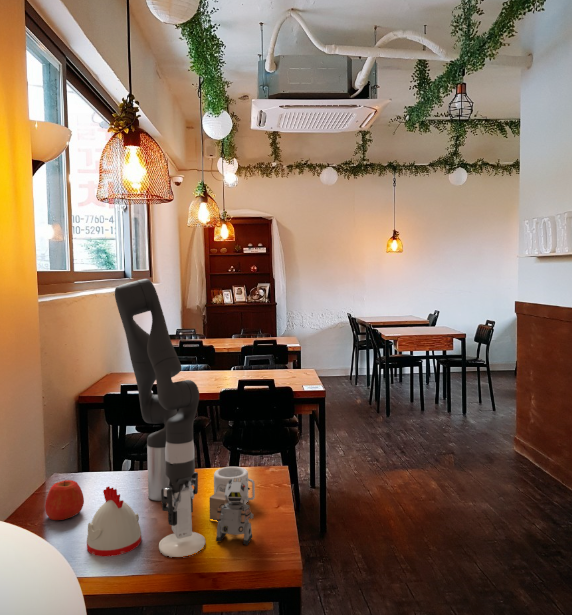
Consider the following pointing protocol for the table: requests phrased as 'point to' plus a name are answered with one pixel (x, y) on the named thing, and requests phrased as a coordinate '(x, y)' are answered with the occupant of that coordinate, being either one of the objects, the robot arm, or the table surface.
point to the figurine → (235, 512)
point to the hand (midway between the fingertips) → (180, 518)
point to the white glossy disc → (181, 545)
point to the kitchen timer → (113, 527)
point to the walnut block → (216, 503)
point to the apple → (64, 500)
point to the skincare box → (183, 515)
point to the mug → (229, 473)
